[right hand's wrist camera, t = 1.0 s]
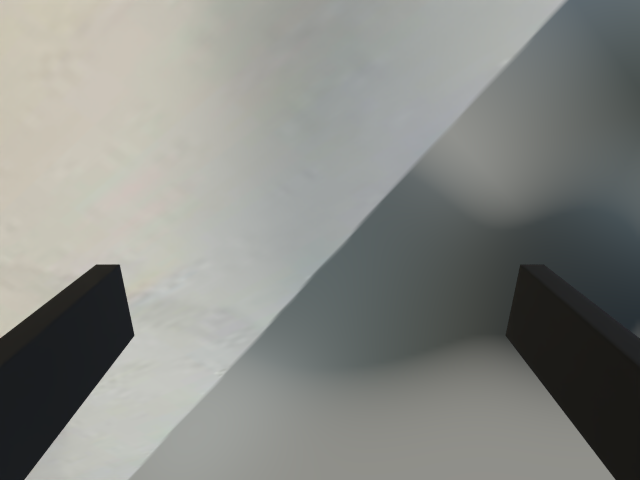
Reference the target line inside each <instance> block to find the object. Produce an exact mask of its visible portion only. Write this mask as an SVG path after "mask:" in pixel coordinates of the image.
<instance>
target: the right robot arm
mask: <svg viewBox="0 0 640 480" xmlns="http://www.w3.org/2000/svg"><path fill="white" fill-rule="evenodd" d="M133 337H134V331H133V326H132V322H131V317H130V312H129V307H128V302H127V298H126V293H125V288H124V283H123V278H122V274H121V269H120V265H95V266H94V267H93V268H91V269H90V270H89V271H87V272H86V273H85V274H83V275H82V276H81V277H80V278H78V279H77V280H76V281H74V282H73V283H72V284H70V285H69V286H68V287H67V288H65V289H64V290H63V291H61V292H60V293H59V294H57V295H56V296H55V297H54V298H52V299H51V300H50V301H48V302H47V303H46V304H44V305H43V306H42V307H41V308H39V309H38V310H37V311H35V312H34V313H33V314H31V315H30V316H29V317H28V318H26V319H25V320H24V321H22V322H21V323H20V324H18V325H17V326H16V327H15V328H13V329H12V330H11V331H9V332H8V333H7V334H5V335H4V336H3V337H2V338H0V480H24V479H25V478H26V477H27V476H28V474H29V473H30V472H31V470H32V469H33V468H34V466H35V465H36V464H37V462H38V461H39V460H40V458H41V457H42V456H43V455H44V453H45V452H46V451H47V449H48V448H49V447H50V445H51V444H52V443H53V441H54V440H55V439H56V438H57V436H58V435H59V434H60V432H61V431H62V430H63V428H64V427H65V426H66V424H67V423H68V422H69V421H70V419H71V418H72V417H73V415H74V414H75V413H76V411H77V410H78V409H79V407H80V406H81V405H82V403H83V402H84V401H85V400H86V398H87V397H88V396H89V394H90V393H91V392H92V390H93V389H94V388H95V386H96V385H97V384H98V383H99V381H100V380H101V379H102V377H103V376H104V375H105V373H106V372H107V371H108V369H109V368H110V367H111V366H112V364H113V363H114V362H115V360H116V359H117V358H118V356H119V355H120V354H121V352H122V351H123V350H124V349H125V347H126V346H127V345H128V343H129V342H130V341H131V339H132V338H133ZM506 337H507V338H508V339H509V341H510V342H511V343H512V344H513V346H514V347H515V348H516V350H517V351H518V352H519V354H520V355H521V356H522V358H523V359H524V360H525V362H526V363H527V364H528V366H529V367H530V368H531V369H532V371H533V372H534V373H535V375H536V376H537V377H538V379H539V380H540V381H541V382H542V384H543V385H544V386H545V388H546V389H547V390H548V392H549V393H550V394H551V395H552V397H553V398H554V400H555V401H556V402H557V403H558V405H559V406H560V407H561V409H562V410H563V411H564V413H565V414H566V415H567V417H568V418H569V419H570V420H571V422H572V423H573V424H574V426H575V427H576V428H577V430H578V431H579V432H580V434H581V435H582V436H583V438H584V439H585V440H586V441H587V443H588V444H589V445H590V447H591V448H592V449H593V450H594V452H595V453H596V455H597V456H598V457H599V458H600V460H601V461H602V462H603V464H604V465H605V466H606V468H607V469H608V470H609V472H610V473H611V474H612V476H613V477H614V478H615V479H616V480H640V338H638V337H637V336H636V335H635V334H633V333H632V332H631V331H629V330H628V329H627V328H625V327H624V326H623V325H622V324H620V323H619V322H618V321H616V320H615V319H614V318H612V317H611V316H610V315H609V314H607V313H606V312H605V311H603V310H602V309H601V308H599V307H598V306H597V305H596V304H594V303H593V302H592V301H590V300H589V299H588V298H586V297H585V296H584V295H583V294H581V293H580V292H579V291H577V290H576V289H575V288H573V287H572V286H571V285H570V284H568V283H567V282H566V281H564V280H563V279H562V278H560V277H559V276H558V275H557V274H555V273H554V272H553V271H551V270H550V269H549V268H547V267H546V266H545V265H520V269H519V274H518V278H517V283H516V288H515V293H514V298H513V302H512V307H511V312H510V317H509V322H508V326H507V331H506Z"/></svg>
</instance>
